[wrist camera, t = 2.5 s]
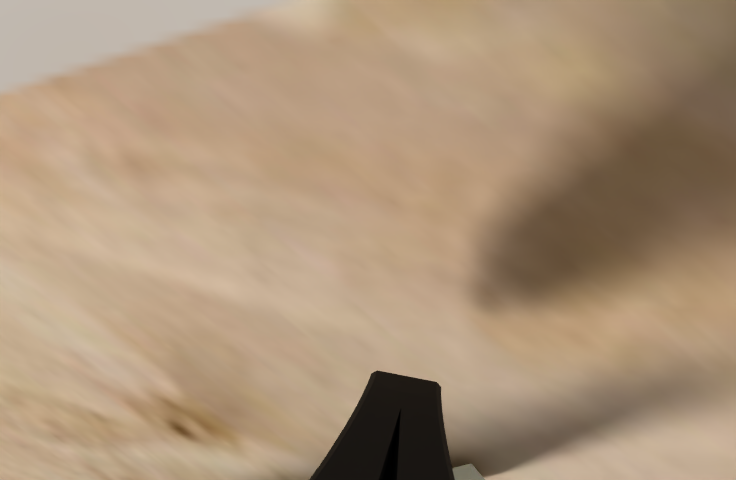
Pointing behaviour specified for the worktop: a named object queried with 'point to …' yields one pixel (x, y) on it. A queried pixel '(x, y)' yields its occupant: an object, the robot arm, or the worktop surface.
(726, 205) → the worktop surface
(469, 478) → the cabinet door
